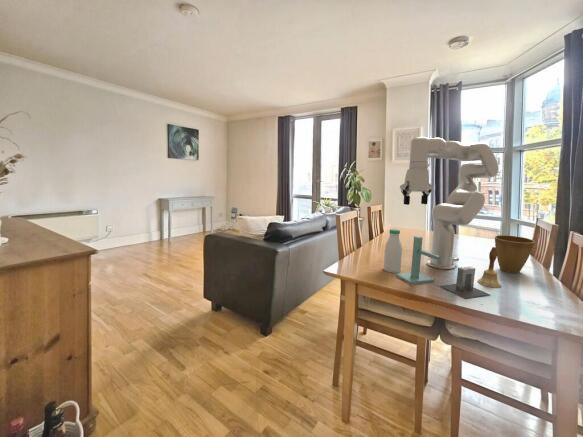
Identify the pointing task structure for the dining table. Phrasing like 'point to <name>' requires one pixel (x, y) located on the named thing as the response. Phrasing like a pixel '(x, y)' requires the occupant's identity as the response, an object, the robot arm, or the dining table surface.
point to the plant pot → (512, 252)
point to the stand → (417, 264)
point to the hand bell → (490, 272)
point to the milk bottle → (393, 252)
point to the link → (465, 278)
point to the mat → (465, 291)
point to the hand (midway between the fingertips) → (415, 204)
